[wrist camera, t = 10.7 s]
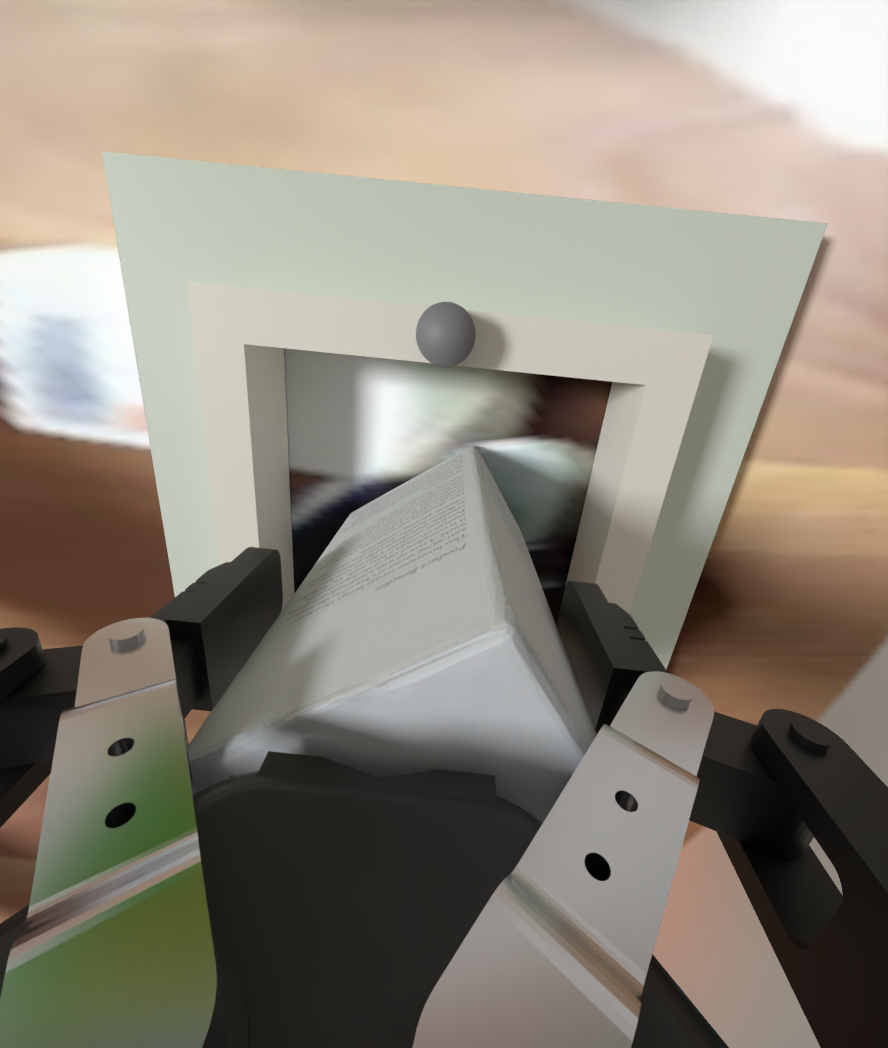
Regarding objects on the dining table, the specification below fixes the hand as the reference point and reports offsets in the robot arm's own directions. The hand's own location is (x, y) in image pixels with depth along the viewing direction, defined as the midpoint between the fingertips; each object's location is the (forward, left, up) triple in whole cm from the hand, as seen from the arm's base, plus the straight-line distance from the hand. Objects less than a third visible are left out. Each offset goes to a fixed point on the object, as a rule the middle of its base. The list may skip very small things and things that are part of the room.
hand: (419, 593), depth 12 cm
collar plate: (0, 0, -6) cm, 6 cm away
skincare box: (0, 0, -6) cm, 6 cm away
